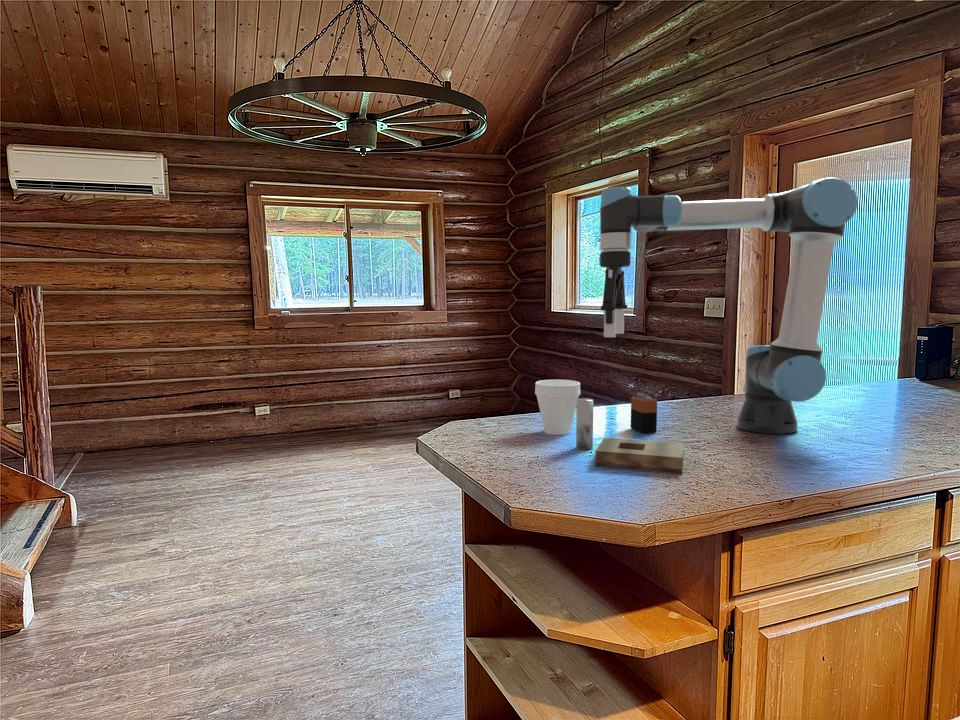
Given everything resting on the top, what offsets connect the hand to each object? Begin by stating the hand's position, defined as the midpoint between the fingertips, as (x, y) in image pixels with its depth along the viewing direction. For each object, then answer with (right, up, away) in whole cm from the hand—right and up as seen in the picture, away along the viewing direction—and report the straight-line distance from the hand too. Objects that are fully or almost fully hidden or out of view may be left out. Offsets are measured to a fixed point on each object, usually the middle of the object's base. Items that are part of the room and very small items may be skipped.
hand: (614, 335), depth 155 cm
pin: (-9, -28, -7) cm, 30 cm away
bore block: (+2, -29, -20) cm, 35 cm away
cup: (-13, -26, +10) cm, 31 cm away
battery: (+11, -26, +12) cm, 30 cm away
